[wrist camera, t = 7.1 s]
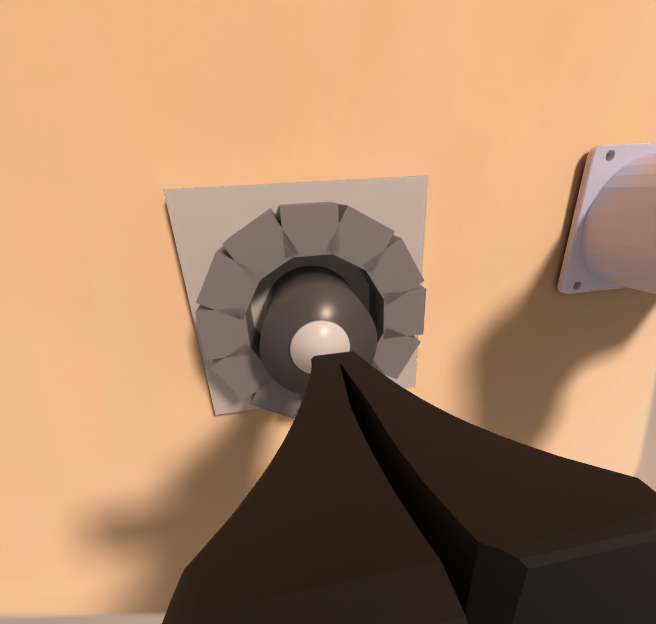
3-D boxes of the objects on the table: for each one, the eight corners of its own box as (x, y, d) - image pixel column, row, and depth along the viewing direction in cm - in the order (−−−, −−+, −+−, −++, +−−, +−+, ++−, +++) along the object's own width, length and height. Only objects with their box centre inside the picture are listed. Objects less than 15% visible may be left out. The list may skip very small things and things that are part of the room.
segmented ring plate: (420, 176, 15) (454, 172, 12) (410, 379, 20) (433, 412, 17) (169, 189, 14) (140, 188, 11) (217, 406, 18) (206, 446, 15)
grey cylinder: (362, 270, 16) (389, 296, 12) (348, 352, 17) (367, 399, 14) (267, 261, 15) (262, 287, 11) (262, 349, 17) (256, 397, 13)
